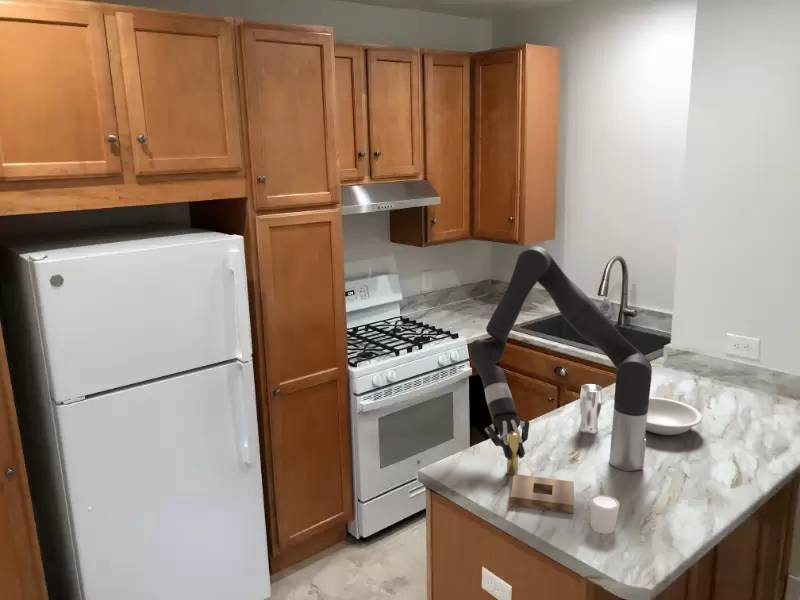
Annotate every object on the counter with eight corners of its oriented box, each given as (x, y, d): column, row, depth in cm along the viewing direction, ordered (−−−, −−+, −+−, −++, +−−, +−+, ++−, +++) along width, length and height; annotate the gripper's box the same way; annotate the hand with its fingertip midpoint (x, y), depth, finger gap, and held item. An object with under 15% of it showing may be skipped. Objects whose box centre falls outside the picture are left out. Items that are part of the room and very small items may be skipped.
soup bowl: (685, 415, 221) (687, 398, 219) (711, 447, 197) (714, 428, 196) (614, 413, 223) (616, 395, 221) (632, 444, 200) (634, 424, 198)
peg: (517, 470, 183) (519, 432, 180) (516, 475, 180) (518, 436, 177) (507, 468, 184) (509, 430, 181) (506, 474, 181) (507, 435, 178)
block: (573, 489, 173) (573, 481, 172) (573, 513, 162) (573, 505, 161) (513, 482, 177) (514, 473, 176) (509, 505, 166) (510, 496, 165)
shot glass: (584, 519, 159) (586, 494, 158) (610, 518, 160) (612, 493, 158) (594, 536, 153) (596, 510, 151) (622, 534, 153) (624, 508, 152)
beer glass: (576, 432, 207) (579, 389, 204) (579, 424, 214) (582, 382, 210) (598, 436, 205) (602, 392, 201) (600, 427, 211) (604, 385, 208)
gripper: (481, 398, 182) (497, 457, 174) (526, 393, 186) (543, 450, 177) (474, 408, 188) (489, 465, 180) (517, 403, 192) (534, 459, 183)
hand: (516, 457), depth 179 cm, fingers closed on peg, 3 cm apart
